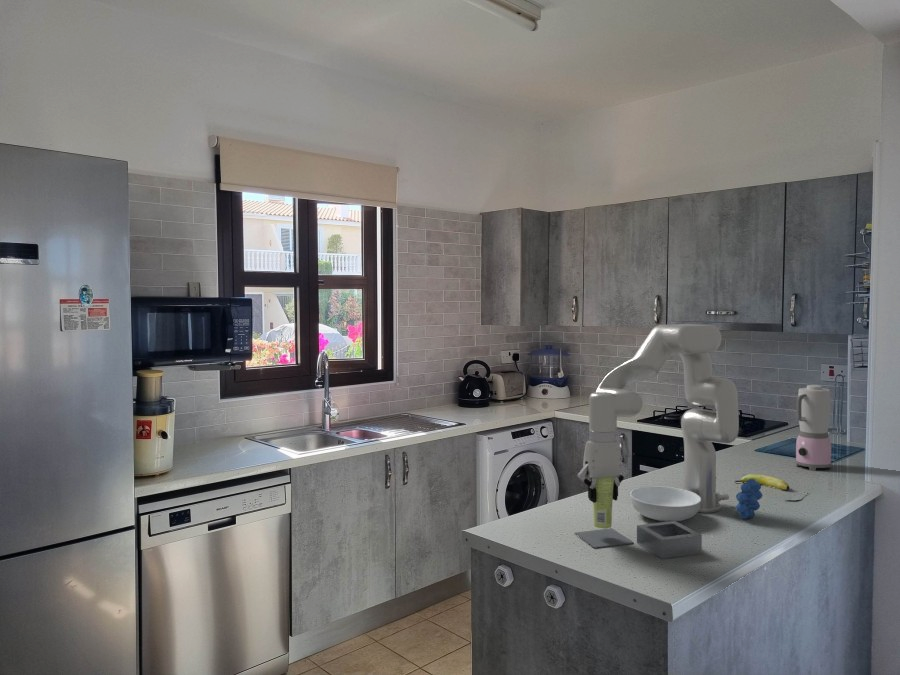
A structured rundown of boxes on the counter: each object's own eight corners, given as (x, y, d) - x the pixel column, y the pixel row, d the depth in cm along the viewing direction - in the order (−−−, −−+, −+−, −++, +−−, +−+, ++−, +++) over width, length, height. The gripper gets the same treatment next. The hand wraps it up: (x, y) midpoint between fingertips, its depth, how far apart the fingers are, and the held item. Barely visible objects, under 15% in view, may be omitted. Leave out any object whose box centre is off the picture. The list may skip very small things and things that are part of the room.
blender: (810, 461, 273) (811, 383, 271) (838, 468, 262) (839, 386, 260) (782, 466, 266) (783, 385, 264) (810, 473, 255) (811, 389, 253)
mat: (611, 529, 198) (611, 528, 198) (633, 543, 186) (633, 542, 186) (574, 534, 194) (574, 532, 194) (594, 548, 183) (594, 547, 183)
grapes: (746, 510, 213) (746, 473, 212) (767, 516, 207) (767, 477, 206) (725, 518, 206) (725, 479, 205) (745, 524, 200) (746, 484, 200)
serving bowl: (654, 532, 195) (654, 508, 195) (617, 510, 215) (617, 489, 215) (716, 524, 201) (716, 501, 200) (674, 504, 221) (674, 483, 220)
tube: (600, 521, 194) (600, 454, 193) (616, 525, 190) (616, 456, 189) (589, 526, 190) (589, 457, 189) (606, 530, 186) (605, 460, 185)
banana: (831, 490, 235) (831, 479, 235) (796, 506, 218) (796, 494, 218) (734, 471, 262) (734, 461, 262) (696, 484, 245) (696, 474, 245)
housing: (674, 538, 190) (674, 520, 189) (701, 553, 178) (701, 535, 178) (636, 543, 186) (636, 525, 186) (661, 559, 175) (661, 540, 174)
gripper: (623, 432, 195) (623, 493, 196) (568, 436, 190) (569, 499, 191) (637, 437, 187) (637, 501, 188) (580, 441, 183) (581, 507, 184)
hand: (603, 499), depth 190 cm, fingers closed on tube, 5 cm apart
